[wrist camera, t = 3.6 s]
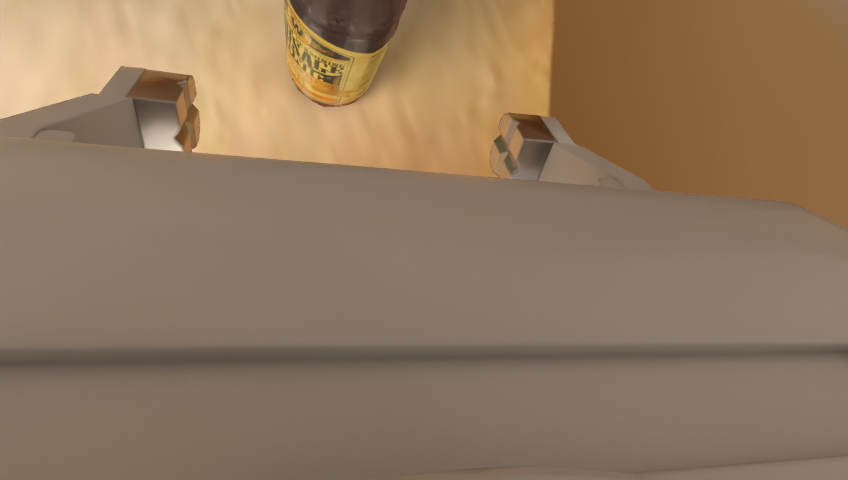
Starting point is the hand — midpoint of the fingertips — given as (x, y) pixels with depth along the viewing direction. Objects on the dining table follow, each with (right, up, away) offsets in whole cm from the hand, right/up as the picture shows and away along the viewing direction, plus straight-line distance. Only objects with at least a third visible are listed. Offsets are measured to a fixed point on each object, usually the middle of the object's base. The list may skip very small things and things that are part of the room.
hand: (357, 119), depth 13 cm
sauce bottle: (-5, +9, +23) cm, 25 cm away
